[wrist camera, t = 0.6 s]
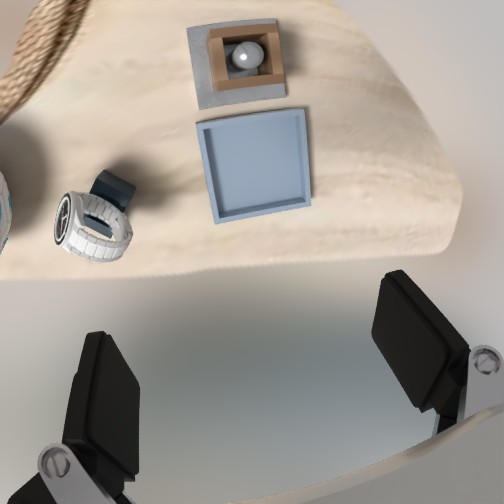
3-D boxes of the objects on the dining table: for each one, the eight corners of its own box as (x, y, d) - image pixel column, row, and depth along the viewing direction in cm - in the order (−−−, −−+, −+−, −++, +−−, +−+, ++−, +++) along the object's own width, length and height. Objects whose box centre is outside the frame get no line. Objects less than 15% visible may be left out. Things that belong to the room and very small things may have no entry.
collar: (205, 40, 25) (209, 29, 20) (261, 33, 26) (276, 23, 21) (213, 91, 28) (218, 91, 23) (268, 83, 29) (284, 83, 23)
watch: (89, 162, 30) (51, 195, 21) (149, 194, 33) (135, 239, 24) (71, 204, 32) (34, 250, 22) (128, 233, 35) (110, 288, 26)
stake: (186, 30, 25) (185, 13, 19) (272, 20, 26) (295, 4, 20) (199, 109, 30) (201, 114, 23) (282, 97, 31) (307, 100, 24)
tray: (195, 122, 30) (195, 124, 29) (297, 107, 32) (304, 109, 30) (213, 217, 36) (215, 224, 35) (305, 199, 37) (311, 205, 36)
